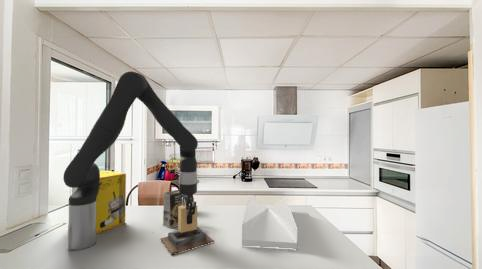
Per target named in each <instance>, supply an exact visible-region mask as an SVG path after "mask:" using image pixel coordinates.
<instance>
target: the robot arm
mask: <svg viewBox="0 0 482 269" xmlns="http://www.w3.org/2000/svg"><path fill="white" fill-rule="evenodd" d="M136 99H138V100H139V101H140V102H142V104H144V105H145V107H146V108H147V109H148V110H149V111H150V113H151V115H152V116H153V118H154V119H155V120H156V122H157V123H158V125H159V126H160V127H161V128H162V129H163V130H164V131H165V132H166V133H167V134H168V135H169V136H171V138H173V139H174V140H175V142H176V143H177V144H178V146H179V157H180V159H179V160H180V161H179V176H178V190H179V193H180V194H182V195H181V196H180V197H181V205H183V206H184V205H185V209H186V210H187V224H192V215H194V214H195V209H196V205H197V201H195V199H194V198H195V197H194V195H195V194H197V192H198V171H197V167H198V166H197V165H198V163H197V159H196V158H197V157H196V150H197V148H198V145H199V144H198V143H199V142H198V139H197V138H196V137H195V136H194V134H193V133H191V131H189V129H187V128H186V127H185V126H184V125H183V123H182V122H181V121H180V119H178V118H177V116H176V115H175V114H174V113H173V112H172V110H170V108H168V107H167V105H165V103H164V102H163V101H162V99H160V97H159V96H158V95H157V92H155V91H154V89H153V87H152V86H151V84H150V83H149V81H148V80H147V78H146V77H145V76H144V75H143V74H142V73H139V72H135V71H132V70H131V71H127V72H124V73H123V74H121V76H119V79H118V80H117V83H116V85H115V87H114V90H113V92H112V95H111V96H110V99H109V101H108V102H107V103H106V105H105V107H104V109H103V110H102V112H101V113H100V115H99V117H98V118H97V120H96V121H95V123H94V125H93V126H92V128H91V130H90V132H89V134H88V136H87V137H86V139H85V141H84V142H83V144H82V146H81V147H80V149H79V150H78V152H77V153H76V155H75V156H74V157H73V158H72V160H71V162H69V164H68V165H67V167H66V168H65V170H64V173H63V176H62V177H63V182H64V184H65V186H66V187H68V188H71V189H72V188H77V187H78V188H77V190H76V191H75V192H74V193H73V194H72V193H71V195H70V196H69V198H68V224H67V225H68V226H67V227H68V228H67V235H68V236H67V251H79V250H84V249H87V248H89V247H92V246H93V245H95V244H96V243H97V234H96V198H97V195H98V193H99V182H100V168H99V166H98V164H97V163H95V162H96V161H97V159H98V158H100V157H101V155H103V154H104V153H105V152H106V151H107V150H108V149H109V148H110V147H112V146H113V145H114V144H115V142H116V141H117V139H118V137H119V136H120V135H121V132H122V130H123V128H124V126H125V122H126V119H127V114H128V112H129V110H130V108H131V106H132V105H133V103H134V102H135V101H136ZM188 206H189V207H188Z"/></svg>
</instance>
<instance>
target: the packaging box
mask: <svg viewBox="0 0 482 269" xmlns="http://www.w3.org/2000/svg"><path fill="white" fill-rule="evenodd" d="M99 171H100V170H99ZM126 182H127V173H125V172H118V171H112V170H101V171H100V182H99V193H98V195H97V198H96V235H97V234H100V233H103V232H105V231H107V230H108V231H109V230H110V229H113V228H116V227H119V226H122V225H123V224H126V204H127V203H126V200H127V199H126V196H127V195H126V193H127V192H126V190H127V186H126V185H127V183H126ZM77 188H78V187H77ZM77 188H71V195H72V194H73V193H74V192H75V191H76V190H77ZM102 231H103V232H102Z"/></svg>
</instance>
